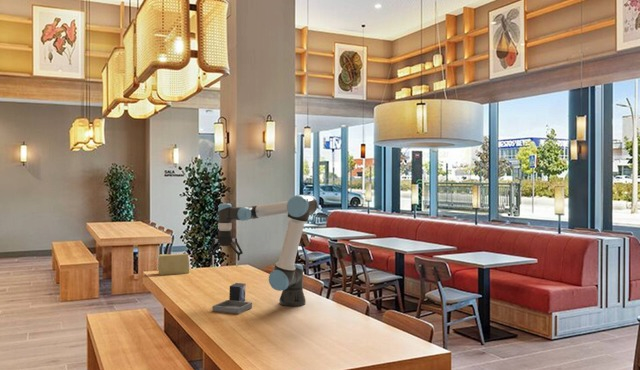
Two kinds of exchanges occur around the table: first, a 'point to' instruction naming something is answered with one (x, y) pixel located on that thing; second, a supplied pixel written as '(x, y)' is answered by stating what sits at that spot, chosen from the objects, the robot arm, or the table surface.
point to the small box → (237, 292)
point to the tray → (232, 307)
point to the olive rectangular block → (173, 264)
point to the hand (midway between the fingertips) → (225, 266)
